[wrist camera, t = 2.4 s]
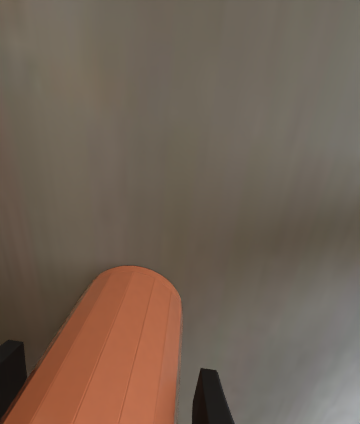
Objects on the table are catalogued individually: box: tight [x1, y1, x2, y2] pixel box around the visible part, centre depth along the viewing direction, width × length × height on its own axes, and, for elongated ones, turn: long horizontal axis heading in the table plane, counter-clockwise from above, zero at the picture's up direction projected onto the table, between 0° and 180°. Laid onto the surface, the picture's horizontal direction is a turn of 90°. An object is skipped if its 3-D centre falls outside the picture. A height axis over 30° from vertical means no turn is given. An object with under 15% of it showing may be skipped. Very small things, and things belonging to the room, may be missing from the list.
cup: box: [0, 266, 183, 424], centre depth 10 cm, size 5×5×8 cm
